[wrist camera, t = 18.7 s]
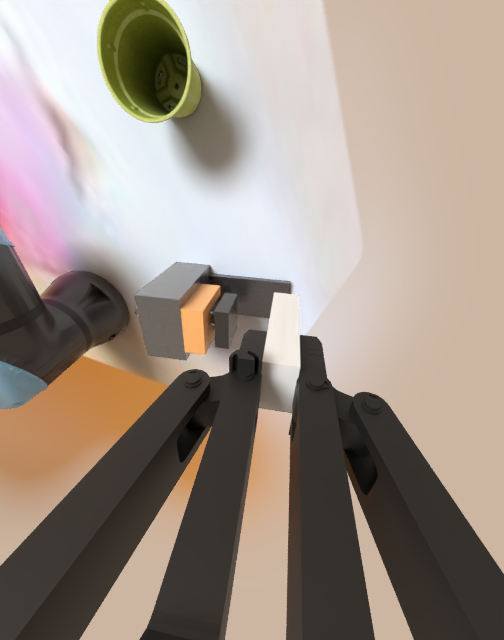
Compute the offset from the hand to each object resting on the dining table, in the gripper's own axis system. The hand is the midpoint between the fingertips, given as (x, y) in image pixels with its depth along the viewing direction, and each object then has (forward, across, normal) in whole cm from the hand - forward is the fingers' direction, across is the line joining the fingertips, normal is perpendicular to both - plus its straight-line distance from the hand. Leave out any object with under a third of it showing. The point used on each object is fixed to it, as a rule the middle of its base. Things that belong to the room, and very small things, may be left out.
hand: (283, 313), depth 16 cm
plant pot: (+27, -16, +16) cm, 35 cm away
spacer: (+22, -12, -12) cm, 28 cm away
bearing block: (+26, -9, -12) cm, 30 cm away
